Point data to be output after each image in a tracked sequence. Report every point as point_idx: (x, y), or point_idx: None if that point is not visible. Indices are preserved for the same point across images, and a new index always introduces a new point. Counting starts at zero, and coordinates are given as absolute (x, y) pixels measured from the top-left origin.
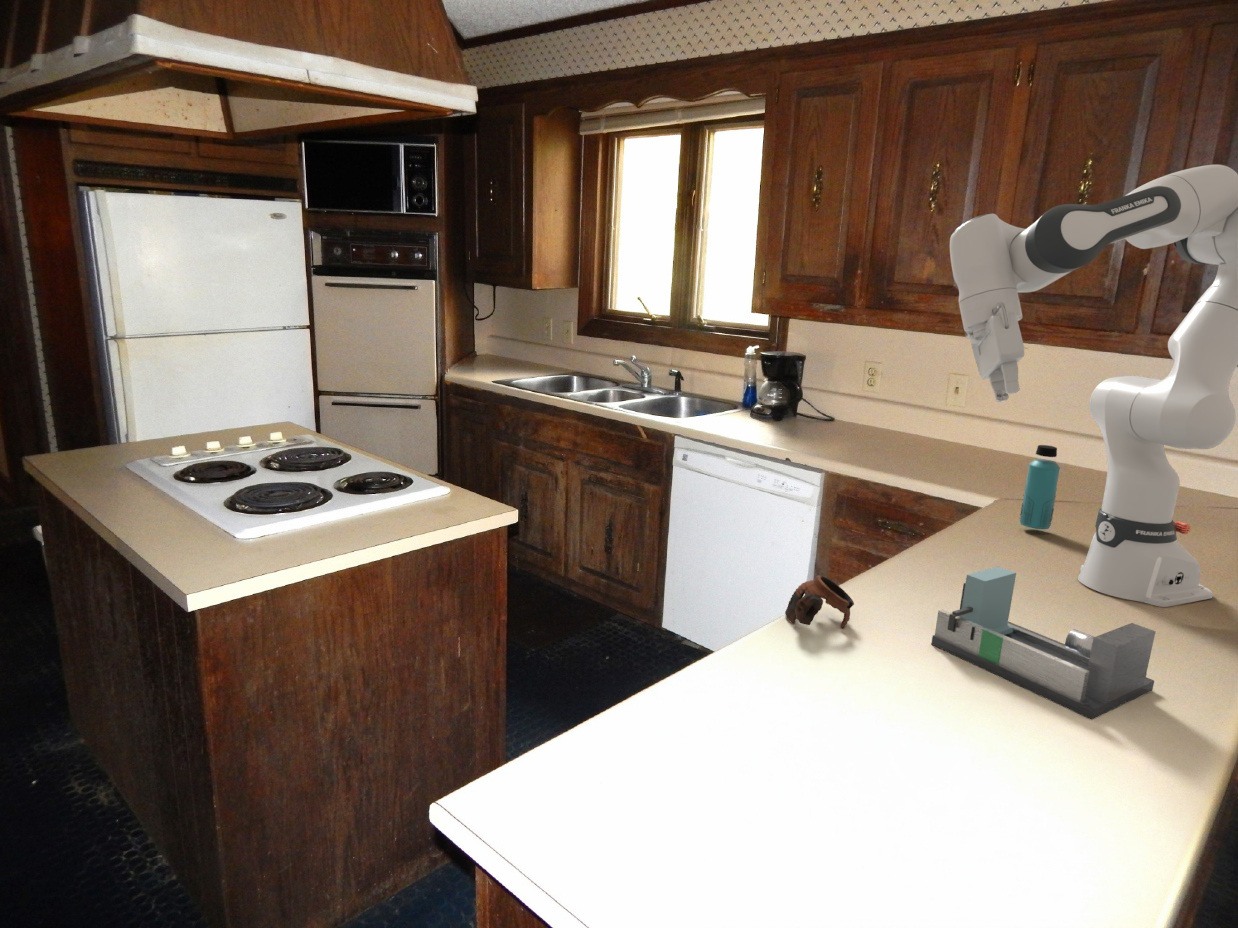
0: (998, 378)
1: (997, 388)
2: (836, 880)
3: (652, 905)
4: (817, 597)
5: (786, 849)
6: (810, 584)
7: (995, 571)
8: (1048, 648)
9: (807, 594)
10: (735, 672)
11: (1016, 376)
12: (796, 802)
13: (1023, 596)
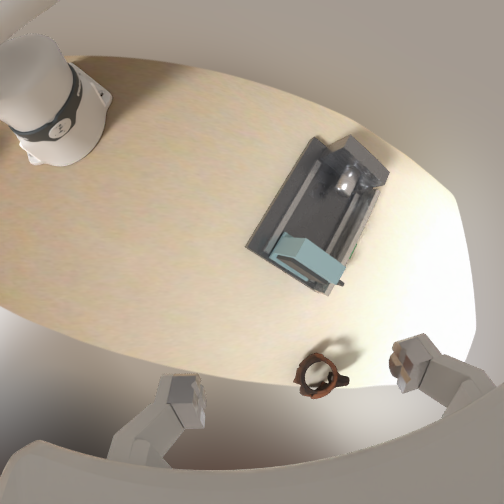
0: (159, 462)
1: (171, 431)
2: (466, 283)
3: (474, 319)
4: (338, 378)
5: (461, 300)
6: (328, 391)
7: (313, 259)
8: (298, 203)
9: (345, 384)
10: (389, 372)
11: (455, 363)
12: (450, 306)
13: (143, 219)
